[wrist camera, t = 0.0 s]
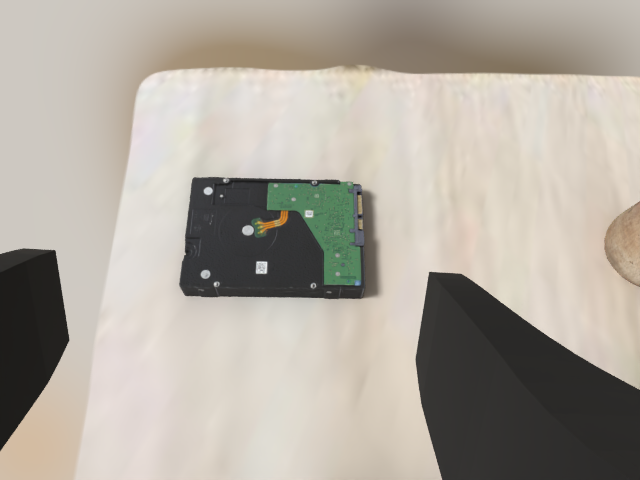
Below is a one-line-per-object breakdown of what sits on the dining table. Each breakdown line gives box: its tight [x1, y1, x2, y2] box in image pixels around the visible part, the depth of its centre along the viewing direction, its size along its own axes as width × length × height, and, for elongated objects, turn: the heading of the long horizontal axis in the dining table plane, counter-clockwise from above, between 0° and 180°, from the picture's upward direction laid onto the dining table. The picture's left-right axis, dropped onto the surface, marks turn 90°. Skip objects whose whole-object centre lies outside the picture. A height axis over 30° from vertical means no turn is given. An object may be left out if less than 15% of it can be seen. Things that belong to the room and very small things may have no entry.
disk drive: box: [179, 177, 365, 299], centre depth 46 cm, size 10×3×15 cm
